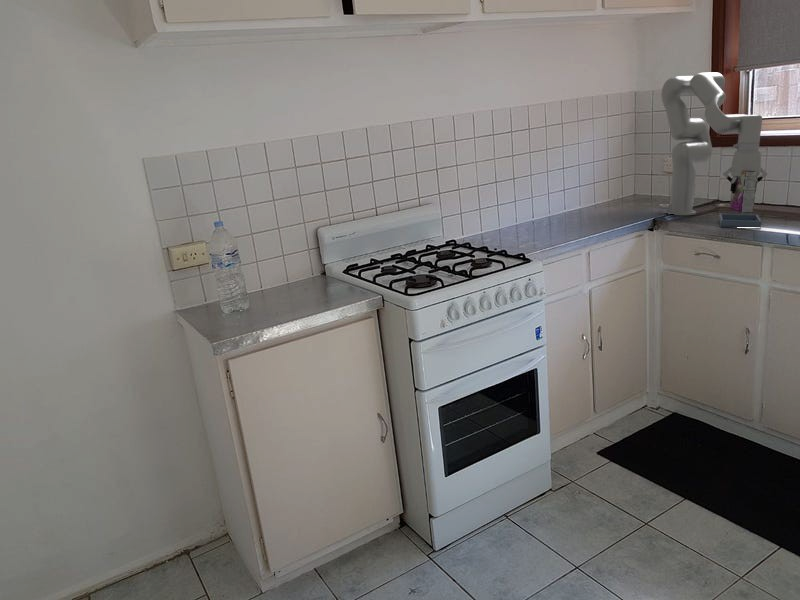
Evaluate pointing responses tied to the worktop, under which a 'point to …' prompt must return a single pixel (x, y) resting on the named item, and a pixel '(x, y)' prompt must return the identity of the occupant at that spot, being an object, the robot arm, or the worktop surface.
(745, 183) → the candy bar box
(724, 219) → the tray
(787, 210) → the worktop surface
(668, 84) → the robot arm
